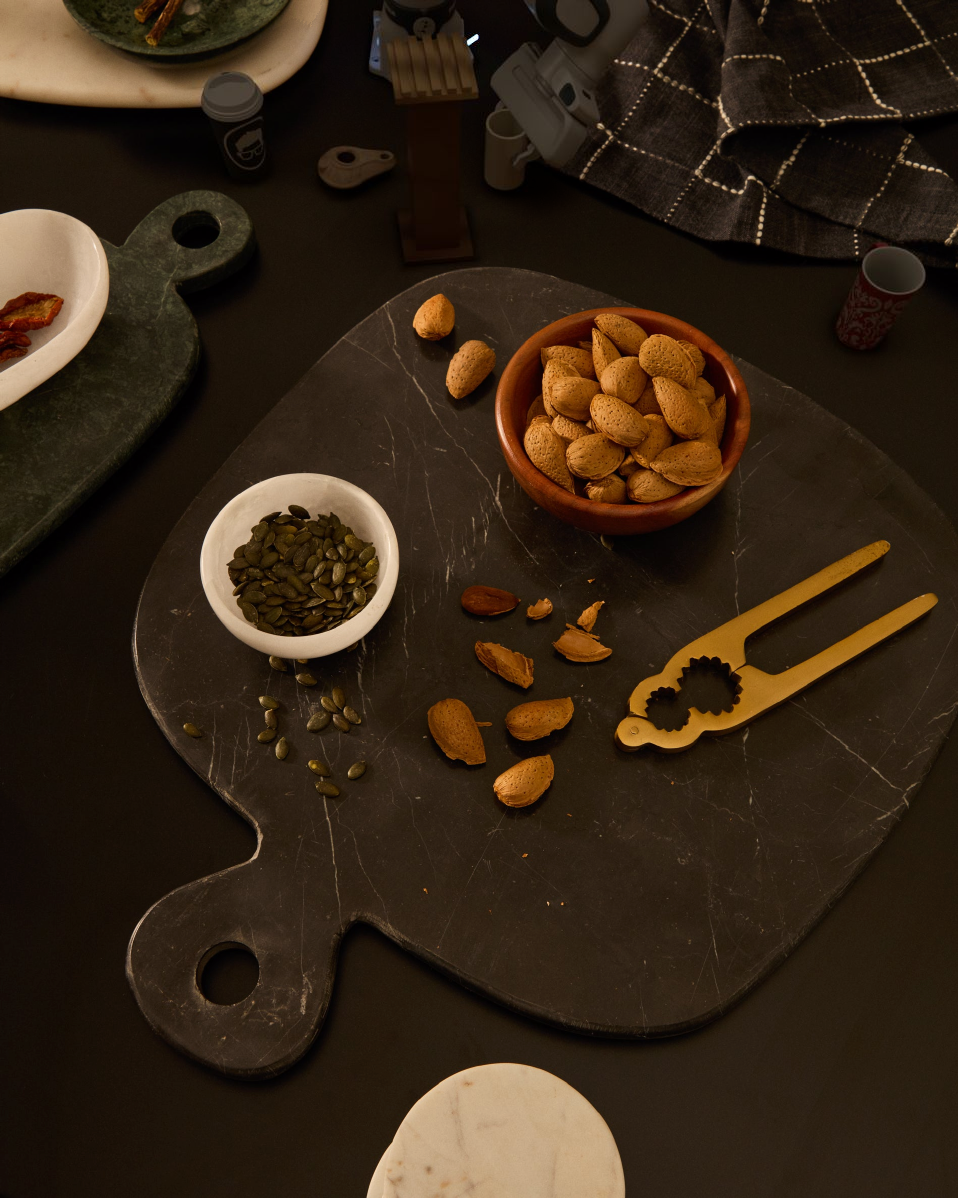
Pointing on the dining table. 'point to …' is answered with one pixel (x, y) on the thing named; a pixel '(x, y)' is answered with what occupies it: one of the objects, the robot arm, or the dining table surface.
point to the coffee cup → (237, 123)
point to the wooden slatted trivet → (431, 69)
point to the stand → (434, 186)
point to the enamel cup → (503, 150)
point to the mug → (878, 295)
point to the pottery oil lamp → (353, 166)
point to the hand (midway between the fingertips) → (502, 149)
